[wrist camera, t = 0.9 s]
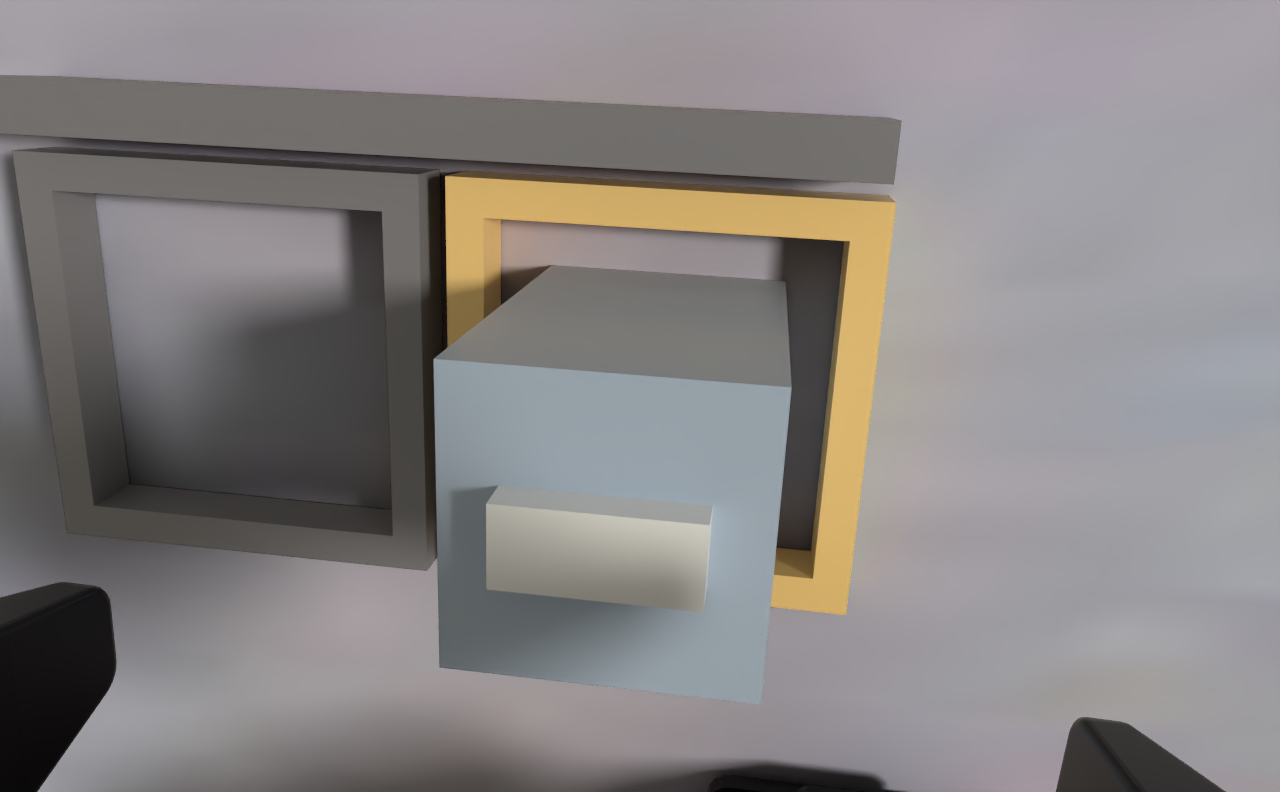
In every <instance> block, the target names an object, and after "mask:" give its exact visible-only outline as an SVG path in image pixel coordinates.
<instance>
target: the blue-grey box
mask: <svg viewBox="0 0 1280 792" xmlns="http://www.w3.org/2000/svg"><path fill="white" fill-rule="evenodd" d="M791 389H792V385H791V367H790V350H789V332H788V314H787V297H786V281H776V280H761V279H747V278H732V277H717V276H703V275H688V274H673V273H659V272H644V271H630V270H615V269H600V268H586V267H571V266H557V265H551V266H550V267H549V268H548V269H546V270H545V271H544V272H543V273H541V274H540V275H539V276H538V277H536V278H535V279H534V280H533V281H531V282H530V283H529V284H527V285H526V286H525V287H524V288H522V289H521V290H520V291H519V292H517V293H516V294H515V295H514V296H512V297H511V298H510V299H509V300H507V301H506V302H505V303H503V304H502V305H501V306H500V307H498V308H497V309H496V310H495V311H493V312H492V313H491V314H490V315H488V316H487V317H486V318H485V319H483V320H482V321H481V322H479V323H478V324H477V325H476V326H474V327H473V328H472V329H471V330H469V331H468V332H467V333H466V334H464V335H463V336H462V337H461V338H459V339H458V340H457V341H455V342H454V343H453V344H452V345H450V346H449V347H448V348H447V349H445V350H444V351H443V352H442V353H440V354H439V355H438V356H437V357H435V358H434V408H435V459H436V510H437V561H438V612H439V664H440V668H449V669H457V670H466V671H475V672H483V673H492V674H500V675H509V676H518V677H526V678H535V679H544V680H552V681H561V682H570V683H578V684H587V685H596V686H604V687H613V688H622V689H630V690H639V691H647V692H656V693H665V694H673V695H682V696H691V697H699V698H708V699H717V700H725V701H734V702H743V703H751V704H760V705H761V702H762V692H763V681H764V671H765V660H766V650H767V639H768V629H769V619H770V608H771V598H772V587H773V577H774V566H775V556H776V546H777V535H778V525H779V514H780V504H781V493H782V483H783V472H784V462H785V452H786V441H787V431H788V420H789V410H790V399H791Z"/></svg>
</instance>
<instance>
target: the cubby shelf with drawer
mask: <svg viewBox="0 0 1280 792" xmlns="http://www.w3.org/2000/svg"><path fill="white" fill-rule="evenodd" d="M900 129H901V121H900V120H896V119H892V118H883V117H863V116H843V115H823V114H803V113H783V112H763V111H743V110H723V109H703V108H683V107H662V106H642V105H622V104H602V103H582V102H562V101H542V100H522V99H502V98H482V97H462V96H442V95H421V94H401V93H381V92H361V91H341V90H321V89H301V88H281V87H261V86H241V85H221V84H201V83H180V82H160V81H140V80H120V79H100V78H80V77H60V76H16V75H0V133H2V134H19V135H37V136H54V137H72V138H89V139H107V140H124V141H142V142H159V143H177V144H194V145H212V146H229V147H247V148H264V149H282V150H299V151H317V152H334V153H352V154H369V155H387V156H404V157H422V158H439V159H457V160H475V161H492V162H510V163H527V164H545V165H562V166H580V167H597V168H615V169H632V170H650V171H667V172H685V173H702V174H720V175H737V176H755V177H772V178H790V179H807V180H825V181H842V182H860V183H877V184H894V179H895V171H896V163H897V154H898V146H899V138H900ZM12 153H13V160H14V167H15V174H16V181H17V188H18V195H19V202H20V209H21V216H22V223H23V230H24V236H25V243H26V250H27V257H28V264H29V271H30V278H31V285H32V292H33V299H34V306H35V313H36V320H37V327H38V334H39V341H40V348H41V355H42V362H43V369H44V376H45V382H46V389H47V396H48V403H49V410H50V417H51V424H52V431H53V438H54V445H55V452H56V459H57V466H58V473H59V480H60V487H61V494H62V501H63V508H64V515H65V522H66V529H67V533H71V534H81V535H90V536H100V537H109V538H119V539H128V540H138V541H147V542H157V543H166V544H176V545H185V546H195V547H205V548H214V549H224V550H233V551H243V552H252V553H262V554H271V555H281V556H290V557H300V558H309V559H319V560H328V561H338V562H347V563H357V564H366V565H376V566H385V567H395V568H404V569H414V570H424V571H427V570H428V569H429V568H430V566H431V565H432V563H433V562H434V561H435V559H436V558H437V510H436V459H435V408H434V358H435V357H437V356H438V355H439V354H440V353H442V352H443V342H442V280H441V218H440V169H425V168H408V167H391V166H374V165H357V164H340V163H323V162H305V161H288V160H271V159H254V158H237V157H220V156H203V155H185V154H168V153H151V152H134V151H117V150H100V149H83V148H66V147H49V148H37V149H24V150H12ZM94 193H99V194H115V195H130V196H146V197H162V198H177V199H193V200H209V201H225V202H240V203H256V204H272V205H287V206H303V207H319V208H335V209H350V210H366V211H382V231H383V260H384V290H385V319H386V348H387V378H388V407H389V437H390V466H391V496H392V510H387V509H377V508H367V507H357V506H347V505H336V504H326V503H316V502H306V501H296V500H286V499H275V498H265V497H255V496H245V495H235V494H225V493H214V492H204V491H194V490H184V489H174V488H164V487H153V486H143V485H133V484H129V477H128V469H127V460H126V452H125V444H124V435H123V427H122V419H121V411H120V402H119V394H118V386H117V378H116V369H115V361H114V353H113V344H112V336H111V328H110V320H109V311H108V303H107V295H106V287H105V278H104V270H103V262H102V253H101V245H100V237H99V229H98V220H97V212H96V204H95V195H94ZM445 200H446V269H447V338H448V347H449V346H450V345H452V344H453V343H454V342H455V341H457V340H458V339H459V338H461V337H462V336H463V335H464V334H466V333H467V332H468V331H469V330H471V329H472V328H473V327H474V326H476V325H477V324H478V323H479V322H481V321H482V320H483V319H485V318H486V317H487V316H488V315H490V314H491V313H492V312H493V311H495V310H496V309H497V308H498V307H500V306H501V219H507V220H523V221H539V222H554V223H570V224H586V225H602V226H617V227H633V228H649V229H664V230H680V231H696V232H712V233H727V234H743V235H759V236H774V237H790V238H806V239H822V240H837V241H844V248H843V257H842V266H841V276H840V285H839V294H838V303H837V313H836V322H835V331H834V341H833V350H832V359H831V368H830V378H829V387H828V396H827V406H826V415H825V424H824V433H823V443H822V452H821V461H820V470H819V480H818V489H817V498H816V508H815V517H814V526H813V535H812V545H811V551H804V550H794V549H784V548H776V556H775V566H774V577H773V587H772V598H771V607H776V608H785V609H795V610H804V611H814V612H823V613H833V614H843V615H846V610H847V602H848V593H849V585H850V577H851V569H852V561H853V552H854V544H855V536H856V528H857V520H858V512H859V503H860V495H861V487H862V479H863V471H864V463H865V454H866V446H867V438H868V430H869V422H870V413H871V405H872V397H873V389H874V381H875V373H876V364H877V356H878V348H879V340H880V332H881V324H882V315H883V307H884V299H885V291H886V283H887V275H888V266H889V258H890V250H891V242H892V234H893V225H894V217H895V209H896V202H895V201H894V200H893V199H892V198H891V197H890V196H888V195H871V194H854V193H837V192H820V191H802V190H785V189H768V188H751V187H734V186H717V185H700V184H682V183H665V182H648V181H631V180H614V179H597V178H580V177H563V176H545V175H528V174H511V173H494V172H477V171H463V172H459V173H455V174H451V175H447V176H445Z"/></svg>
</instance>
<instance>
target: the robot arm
mask: <svg viewBox="0 0 1280 792" xmlns="http://www.w3.org/2000/svg"><path fill="white" fill-rule="evenodd" d="M115 672H116V651H115V641H114V631H113V622H112V612H111V603H110V599H109V597H108V595H107V593H106V592H105V591H104V590H103V589H101V588H100V587H96V586H91V585H83V584H76V583H68V582H60V583H55V584H51V585H47V586H43V587H39V588H35V589H31V590H28V591H24V592H20V593H16V594H12V595H8V596H4V597H1V598H0V792H38V790H39V789H40V787H41V786H42V784H43V783H44V782H45V780H46V779H47V777H48V776H49V774H50V773H51V772H52V770H53V769H54V767H55V766H56V764H57V763H58V762H59V760H60V759H61V757H62V756H63V754H64V753H65V752H66V750H67V749H68V747H69V746H70V744H71V743H72V742H73V740H74V739H75V737H76V736H77V734H78V733H79V732H80V730H81V729H82V727H83V726H84V724H85V723H86V722H87V720H88V719H89V717H90V716H91V714H92V713H93V712H94V710H95V709H96V707H97V706H98V704H99V703H100V702H101V700H102V699H103V697H104V696H105V694H106V693H107V691H108V690H109V688H110V686H111V684H112V682H113V679H114V676H115ZM708 792H860V791H852V790H844V789H836V788H828V787H820V786H812V785H804V784H796V783H788V782H780V781H772V780H764V779H756V778H748V777H740V776H721V777H719V778H717V779H715V780H714V781H713V782H712V783H711V784H710V786H709V789H708ZM1056 792H1225V791H1224V790H1222V789H1221V788H1220V787H1218V786H1217V785H1215V784H1214V783H1212V782H1211V781H1210V780H1208V779H1207V778H1205V777H1204V776H1202V775H1201V774H1200V773H1198V772H1197V771H1195V770H1194V769H1192V768H1191V767H1190V766H1188V765H1187V764H1185V763H1184V762H1182V761H1181V760H1179V759H1178V758H1177V757H1175V756H1174V755H1172V754H1171V753H1169V752H1168V751H1167V750H1165V749H1164V748H1162V747H1161V746H1159V745H1158V744H1157V743H1155V742H1154V741H1152V740H1151V739H1149V738H1148V737H1147V736H1145V735H1144V734H1142V733H1141V732H1139V731H1138V730H1137V729H1135V728H1134V727H1132V726H1131V725H1129V724H1127V723H1124V722H1120V721H1112V720H1104V719H1097V718H1089V717H1081V718H1079V719H1077V720H1076V721H1075V722H1074V723H1073V725H1072V727H1071V729H1070V732H1069V736H1068V740H1067V744H1066V749H1065V753H1064V758H1063V762H1062V767H1061V771H1060V776H1059V780H1058V785H1057V789H1056Z"/></svg>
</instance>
